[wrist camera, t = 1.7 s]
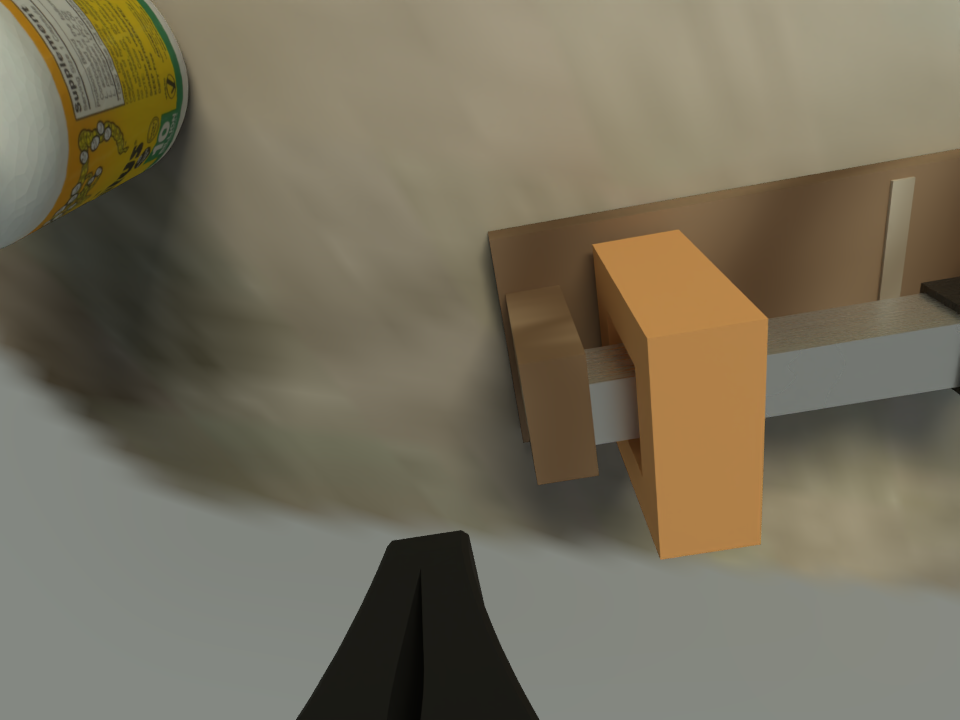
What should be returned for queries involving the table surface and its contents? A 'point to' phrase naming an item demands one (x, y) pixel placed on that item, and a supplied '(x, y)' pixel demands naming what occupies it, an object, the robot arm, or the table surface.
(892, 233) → the stand
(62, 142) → the supplement bottle
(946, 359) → the rod
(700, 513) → the collar
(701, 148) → the table surface
